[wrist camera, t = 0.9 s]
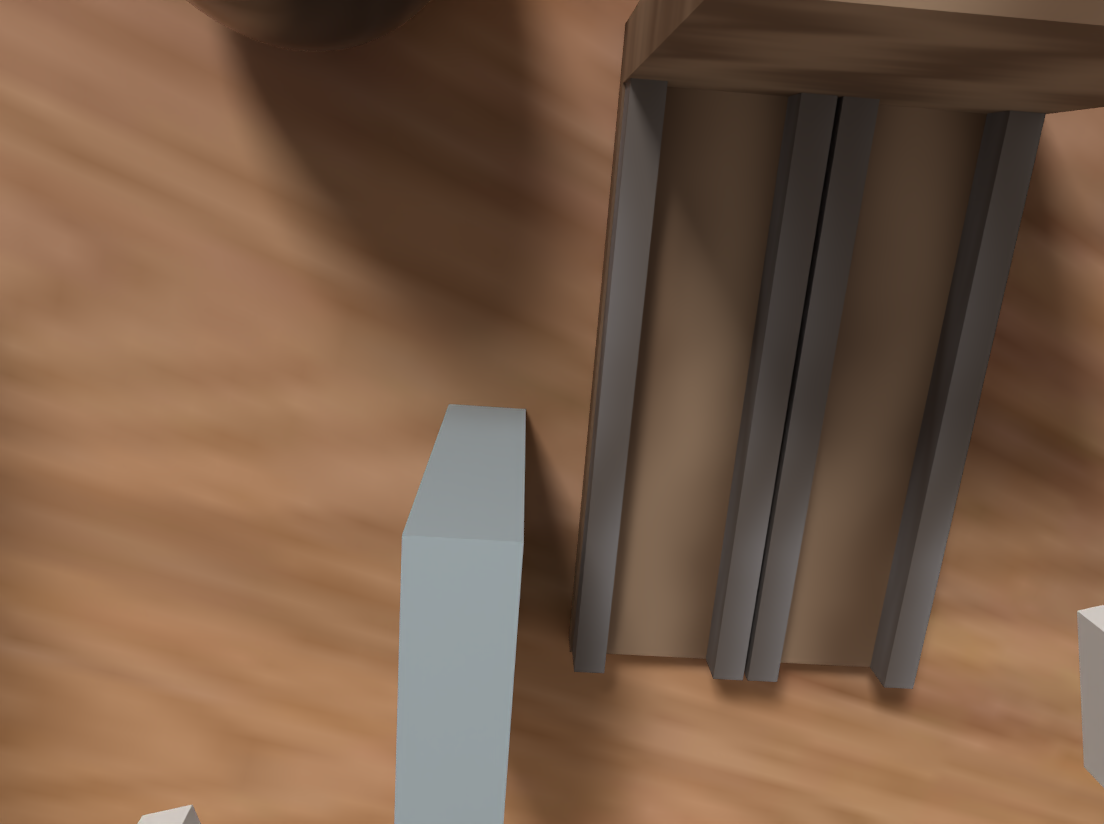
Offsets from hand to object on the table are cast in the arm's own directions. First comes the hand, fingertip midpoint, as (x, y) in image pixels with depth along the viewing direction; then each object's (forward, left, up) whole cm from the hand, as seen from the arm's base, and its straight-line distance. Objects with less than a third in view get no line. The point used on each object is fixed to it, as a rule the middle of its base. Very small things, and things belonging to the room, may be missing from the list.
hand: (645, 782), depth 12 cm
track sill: (+8, +2, -20) cm, 22 cm away
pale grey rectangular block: (-3, -5, -21) cm, 21 cm away
